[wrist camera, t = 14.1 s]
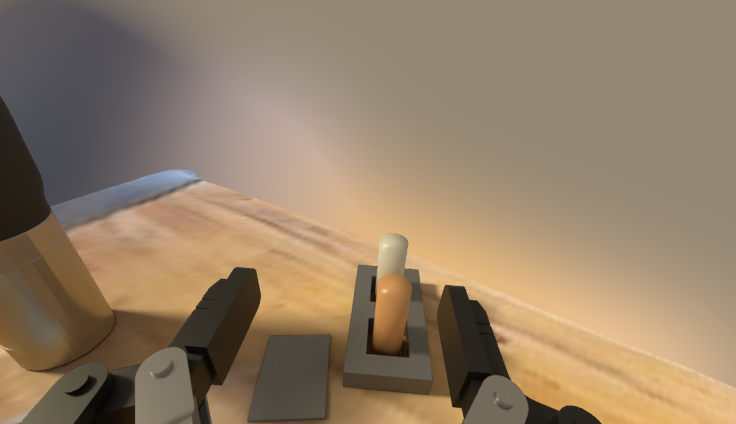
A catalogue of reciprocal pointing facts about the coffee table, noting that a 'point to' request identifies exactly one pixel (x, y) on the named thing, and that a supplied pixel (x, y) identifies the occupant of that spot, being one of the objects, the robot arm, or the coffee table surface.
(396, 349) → the peg
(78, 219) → the coffee table surface
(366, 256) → the coffee table surface
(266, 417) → the lid plate
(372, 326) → the housing
